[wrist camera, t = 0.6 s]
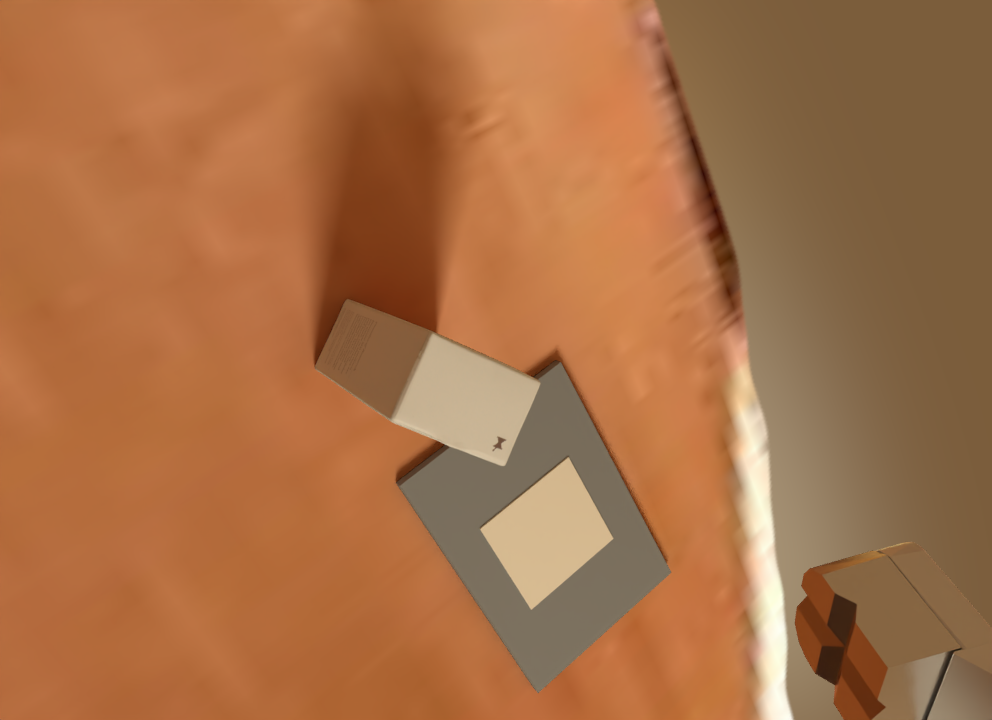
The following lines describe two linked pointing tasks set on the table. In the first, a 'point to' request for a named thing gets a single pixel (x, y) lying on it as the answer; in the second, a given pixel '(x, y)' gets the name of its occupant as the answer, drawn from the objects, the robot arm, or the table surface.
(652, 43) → the table surface
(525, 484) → the rubber mat
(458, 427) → the skincare box
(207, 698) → the table surface
